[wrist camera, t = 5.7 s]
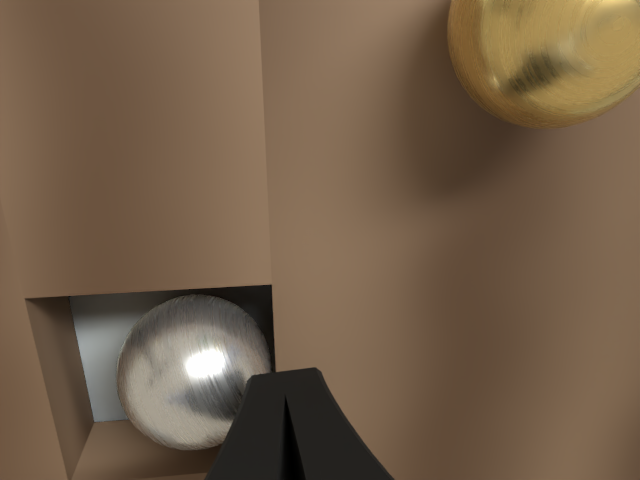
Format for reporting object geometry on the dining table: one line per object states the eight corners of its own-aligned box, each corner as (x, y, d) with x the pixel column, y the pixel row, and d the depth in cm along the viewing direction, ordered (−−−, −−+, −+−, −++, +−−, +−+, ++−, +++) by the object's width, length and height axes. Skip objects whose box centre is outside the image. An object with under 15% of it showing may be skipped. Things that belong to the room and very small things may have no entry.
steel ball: (153, 351, 14) (270, 307, 14) (171, 481, 12) (304, 432, 12) (78, 303, 11) (223, 246, 11) (88, 460, 10) (259, 397, 9)
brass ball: (609, -79, 9) (771, -123, 6) (578, 109, 10) (701, 145, 7) (428, -80, 9) (511, -126, 6) (417, 114, 10) (481, 153, 7)
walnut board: (721, -91, 11) (815, -113, 9) (570, 553, 18) (607, 615, 16) (-150, -100, 9) (-251, -128, 7) (54, 610, 16) (28, 686, 14)
